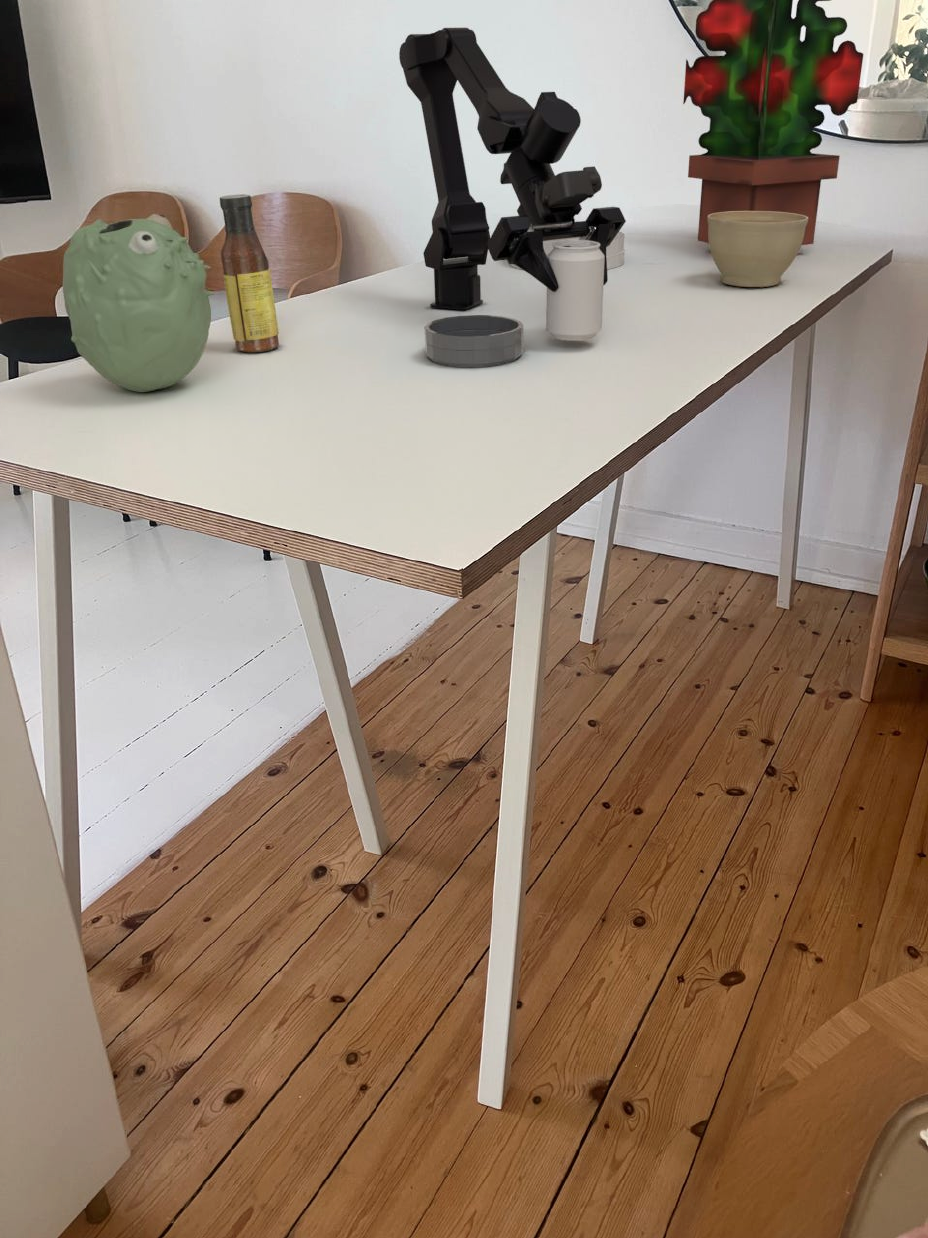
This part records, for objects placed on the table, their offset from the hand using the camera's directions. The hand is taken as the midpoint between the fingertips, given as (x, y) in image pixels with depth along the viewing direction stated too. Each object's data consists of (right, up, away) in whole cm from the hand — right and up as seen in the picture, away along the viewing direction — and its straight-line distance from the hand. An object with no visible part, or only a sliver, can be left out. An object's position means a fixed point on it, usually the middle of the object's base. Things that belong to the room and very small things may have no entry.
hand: (580, 286), depth 139 cm
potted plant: (+42, +28, +70) cm, 86 cm away
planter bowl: (+34, +13, +42) cm, 55 cm away
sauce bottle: (-44, -6, +8) cm, 45 cm away
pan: (-14, -9, +1) cm, 16 cm away
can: (-1, -5, +4) cm, 7 cm away
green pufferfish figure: (-54, -16, -9) cm, 57 cm away
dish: (+4, +25, +65) cm, 70 cm away
